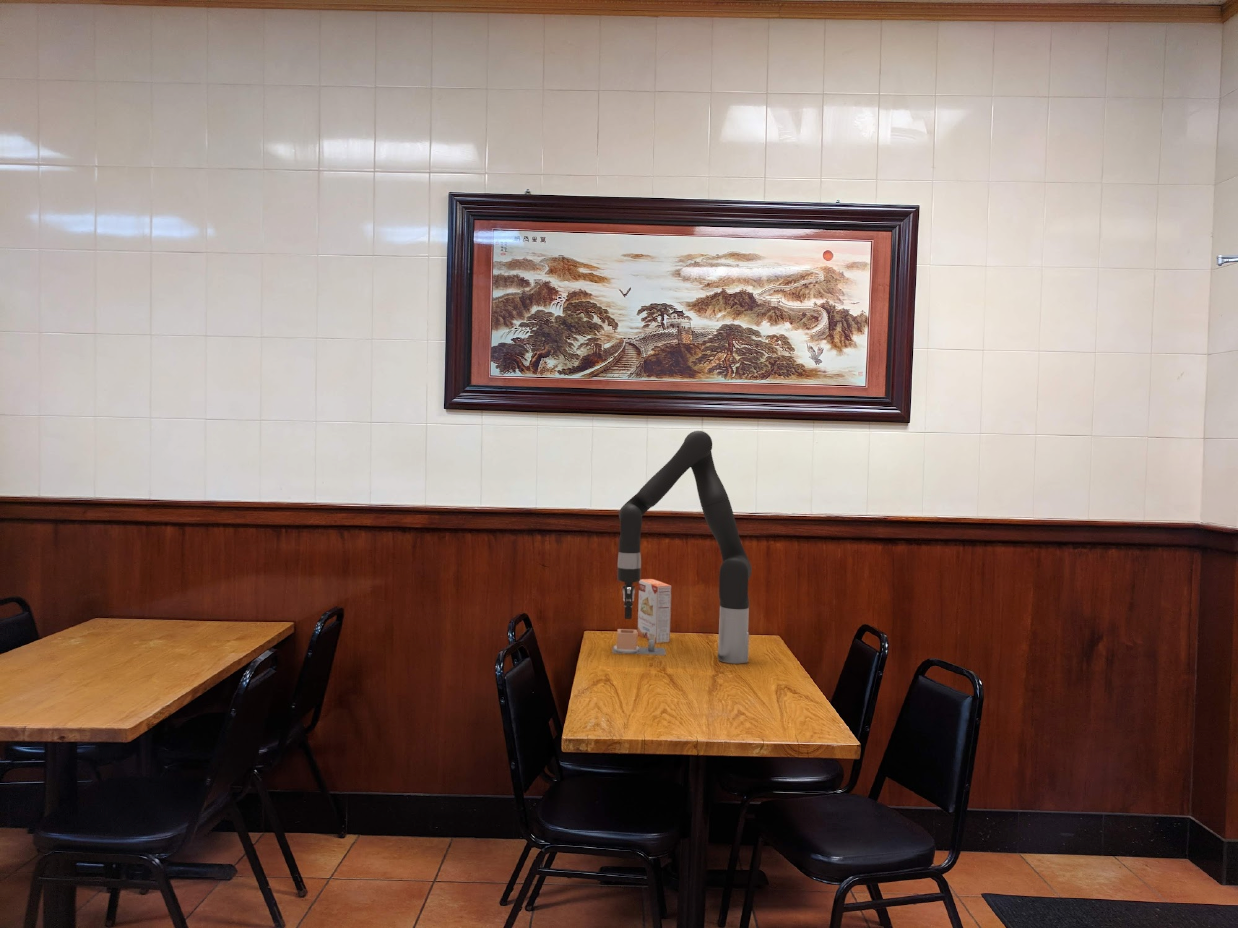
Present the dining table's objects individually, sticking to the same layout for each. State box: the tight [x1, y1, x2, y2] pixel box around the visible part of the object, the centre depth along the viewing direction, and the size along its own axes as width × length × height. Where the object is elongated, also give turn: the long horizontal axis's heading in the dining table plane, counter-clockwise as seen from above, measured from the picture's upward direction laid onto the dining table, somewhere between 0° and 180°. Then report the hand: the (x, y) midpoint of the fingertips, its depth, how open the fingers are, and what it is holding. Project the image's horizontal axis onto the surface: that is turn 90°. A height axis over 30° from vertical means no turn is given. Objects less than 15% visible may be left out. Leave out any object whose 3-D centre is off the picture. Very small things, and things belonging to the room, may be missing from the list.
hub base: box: [612, 639, 667, 656], centre depth 264 cm, size 17×9×6 cm, turn 89°
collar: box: [616, 628, 638, 650], centre depth 264 cm, size 6×6×5 cm
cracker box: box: [637, 578, 672, 644], centre depth 282 cm, size 14×6×21 cm, turn 25°
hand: (628, 616), depth 263 cm, fingers open, 8 cm apart
